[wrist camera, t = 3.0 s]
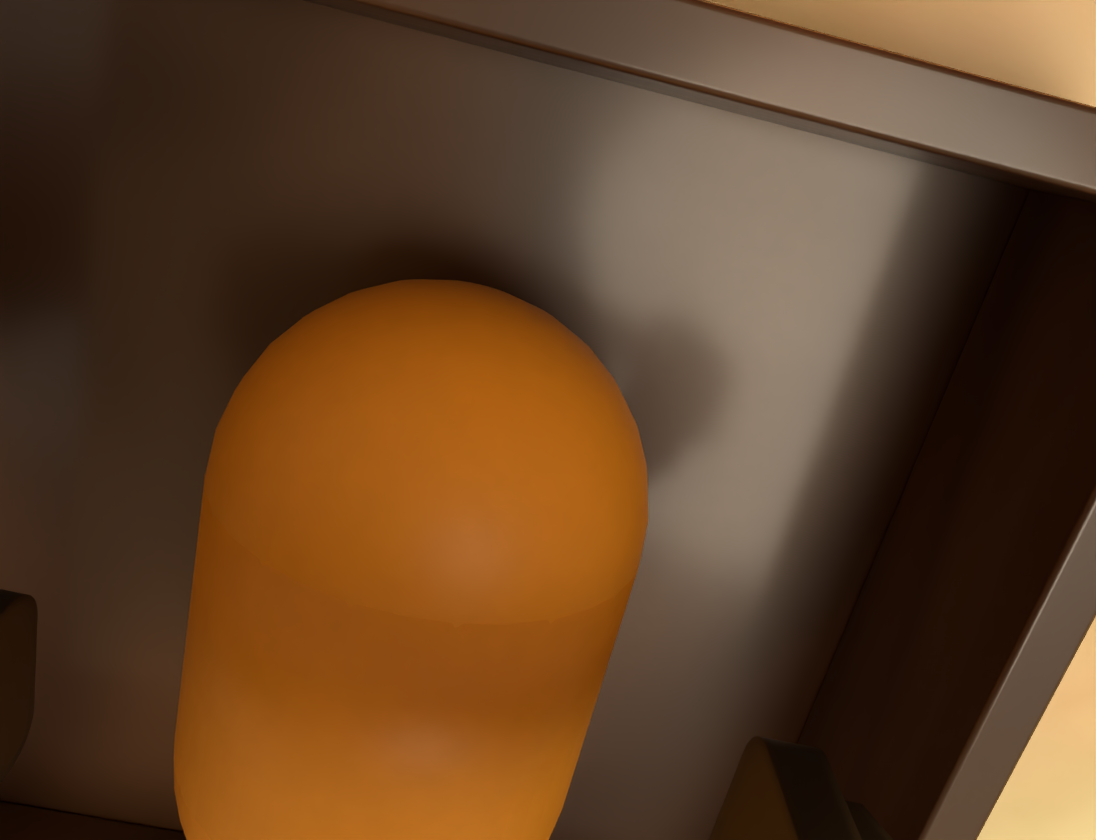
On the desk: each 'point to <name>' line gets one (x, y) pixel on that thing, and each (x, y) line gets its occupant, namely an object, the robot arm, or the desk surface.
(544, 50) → the wooden tray
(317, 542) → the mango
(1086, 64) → the desk surface
